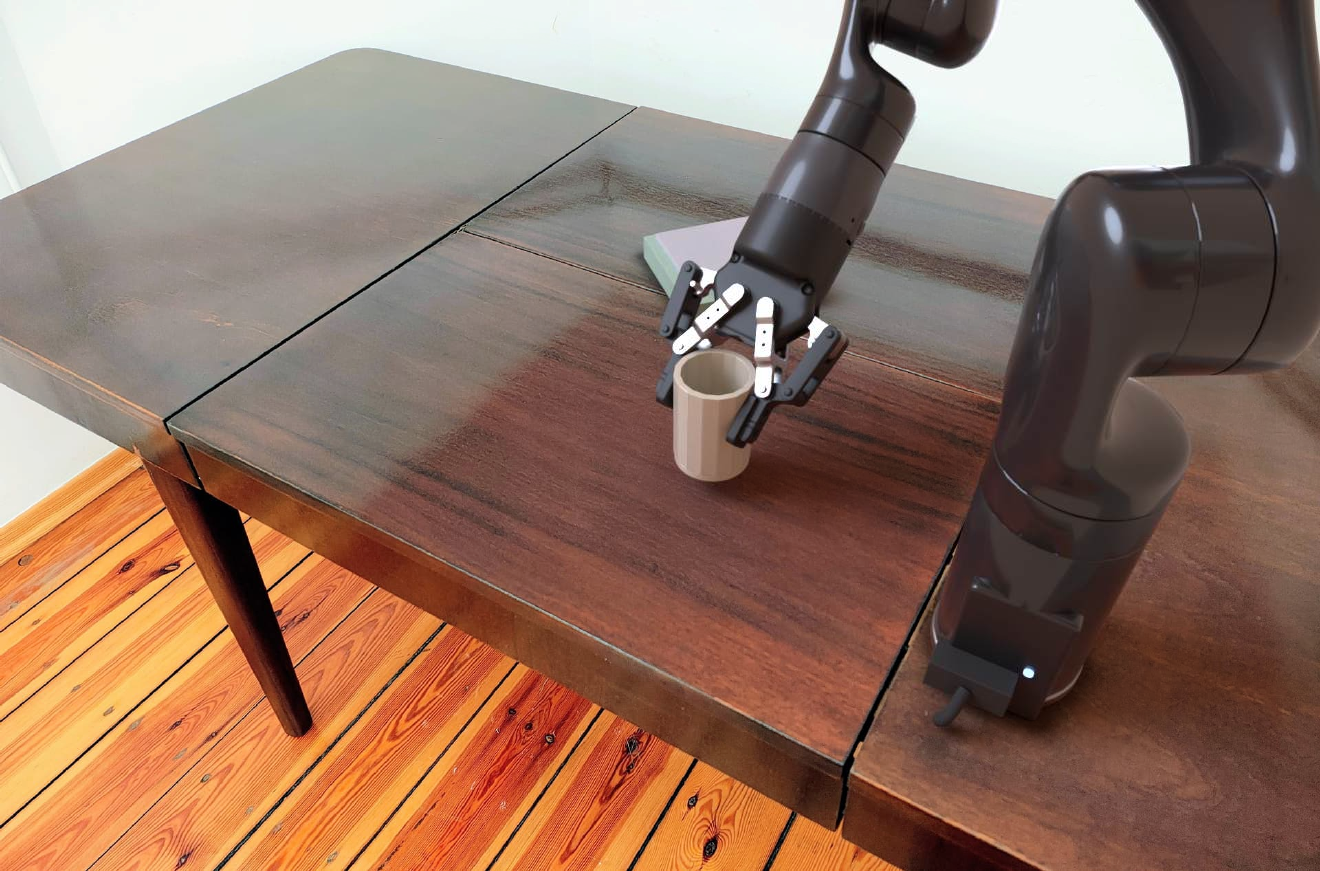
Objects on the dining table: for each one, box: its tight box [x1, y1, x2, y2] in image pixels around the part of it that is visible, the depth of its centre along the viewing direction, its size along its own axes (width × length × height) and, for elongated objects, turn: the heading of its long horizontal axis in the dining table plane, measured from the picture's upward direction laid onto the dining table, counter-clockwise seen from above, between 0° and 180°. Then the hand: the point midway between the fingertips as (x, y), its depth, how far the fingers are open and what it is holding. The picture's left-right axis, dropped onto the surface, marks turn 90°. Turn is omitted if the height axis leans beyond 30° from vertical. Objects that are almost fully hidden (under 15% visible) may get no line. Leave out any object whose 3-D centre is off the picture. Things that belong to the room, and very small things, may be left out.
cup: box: [672, 347, 756, 483], centre depth 68 cm, size 6×6×8 cm
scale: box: [643, 215, 749, 326], centre depth 92 cm, size 13×13×3 cm
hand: (699, 424), depth 67 cm, fingers closed on cup, 6 cm apart
